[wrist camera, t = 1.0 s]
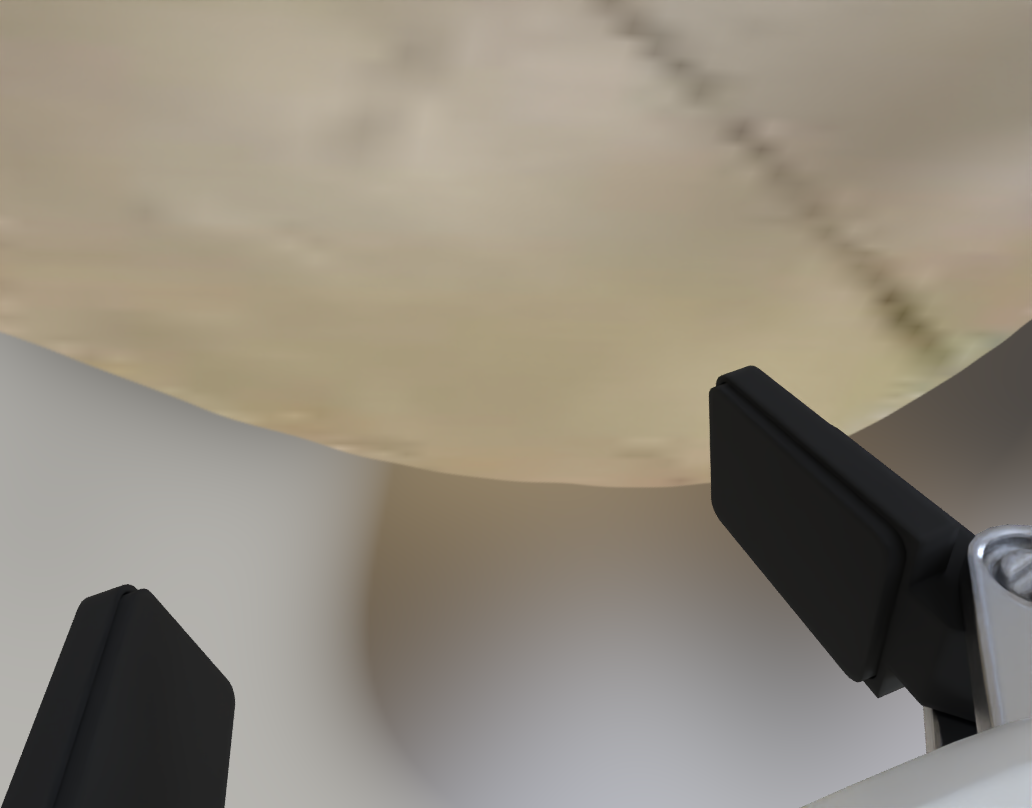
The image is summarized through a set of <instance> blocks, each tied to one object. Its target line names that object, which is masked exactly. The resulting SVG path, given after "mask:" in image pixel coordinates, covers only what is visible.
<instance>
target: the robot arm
mask: <svg viewBox="0 0 1032 808" xmlns="http://www.w3.org/2000/svg"><path fill="white" fill-rule="evenodd" d="M709 419H710V463H711V500H712V505H713V508H714V511H715V513H716V515H717V517H718V518H719V520H720V521H721V522H722V524H723V525H724V526H725V527H726V528H727V530H728V531H729V532H730V533H731V535H732V536H733V537H734V538H735V539H736V541H737V542H738V543H739V544H740V545H741V547H742V548H743V549H744V550H745V552H746V553H747V554H748V555H749V557H750V558H751V559H752V560H753V561H754V563H755V564H756V565H757V566H758V568H759V569H760V570H761V571H762V572H763V574H764V575H765V576H766V577H767V579H768V580H769V581H770V582H771V583H772V585H773V586H774V587H775V588H776V590H777V591H778V592H779V593H780V594H781V596H782V597H783V598H784V599H785V600H786V602H787V603H788V604H789V605H790V607H791V608H792V609H793V610H794V611H795V613H796V614H797V615H798V616H799V618H800V619H801V620H802V621H803V622H804V624H805V625H806V626H807V627H808V628H809V630H810V631H811V632H812V633H813V635H814V636H815V637H816V638H817V640H818V641H819V642H820V643H821V645H822V646H823V647H824V648H825V649H826V651H827V652H828V653H829V654H830V656H831V657H832V658H833V659H834V660H835V662H836V663H837V664H838V665H839V667H840V668H841V669H842V670H843V671H844V672H845V674H846V675H847V676H848V677H849V678H851V679H852V680H853V681H856V682H861V681H864V682H865V684H866V685H867V686H868V687H869V688H870V690H871V691H872V692H873V693H874V694H875V695H876V697H877V698H880V697H882V696H884V695H887V694H889V693H891V692H894V691H896V690H898V689H901V688H903V687H906V689H908V691H909V692H910V693H911V694H912V695H913V696H914V697H915V699H916V700H917V701H918V702H919V703H920V704H921V705H922V706H923V711H924V725H925V739H926V753H927V754H924V755H922V756H920V757H917V758H915V759H912V760H910V761H908V762H905V763H903V764H901V765H898V766H896V767H893V768H891V769H889V770H886V771H884V772H882V773H879V774H877V775H874V776H872V777H870V778H867V779H865V780H862V781H860V782H858V783H856V784H853V785H851V786H848V787H846V788H844V789H842V790H839V791H837V792H835V793H833V794H830V795H828V796H826V797H823V798H821V799H819V800H817V801H814V802H812V803H810V804H808V805H805V806H803V807H801V808H1032V526H1028V525H1008V524H1007V525H1002V526H996V527H990V528H988V529H986V530H984V531H982V532H980V533H979V534H977V535H974V534H973V533H972V532H970V531H969V530H968V529H967V528H965V527H964V526H963V525H961V524H960V523H959V522H957V521H956V520H955V519H954V518H952V517H951V516H950V515H949V514H947V513H946V512H945V511H943V510H942V509H941V508H939V507H938V506H937V505H936V504H934V503H933V502H932V501H930V500H929V499H928V498H927V497H925V496H924V495H923V494H921V493H920V492H919V491H918V490H916V489H915V488H914V487H913V486H911V485H910V484H909V483H907V482H906V481H905V480H903V479H902V478H901V477H900V476H898V475H897V474H896V473H894V472H893V471H892V470H891V469H889V468H888V467H887V466H886V465H884V464H883V463H882V462H880V461H879V460H878V459H876V458H875V457H874V456H873V455H871V454H870V453H869V452H867V451H866V450H865V449H864V448H862V447H861V446H859V445H858V444H857V443H856V442H855V441H853V440H852V439H851V438H849V437H848V436H847V435H846V434H844V433H843V432H842V431H840V430H839V429H838V428H836V427H834V426H833V425H831V424H829V423H828V422H827V421H825V420H824V419H823V418H821V417H820V416H819V415H818V414H816V413H815V412H814V411H812V410H811V409H810V408H809V407H807V406H806V405H805V404H804V403H802V402H801V401H800V400H798V399H797V398H796V397H795V396H793V395H792V394H791V393H789V392H788V391H787V390H786V389H784V388H783V387H782V386H780V385H779V384H778V383H777V382H775V381H774V380H773V379H772V378H770V377H769V376H768V375H766V374H765V373H764V372H763V371H761V370H760V369H759V368H757V367H755V366H747V367H744V368H741V369H739V370H736V371H733V372H730V373H727V374H724V375H721V376H720V377H718V379H717V381H716V387H713V388H711V389H710V392H709ZM234 710H235V697H234V692H233V688H232V686H231V684H230V682H229V681H228V680H227V678H226V677H225V676H224V675H223V674H222V673H221V672H220V670H219V669H218V668H217V667H216V666H215V665H214V664H213V663H212V661H211V660H210V659H209V658H208V657H207V656H206V655H205V653H204V652H203V651H202V650H201V649H200V648H199V647H198V645H197V644H196V643H195V642H194V641H193V640H192V639H191V637H190V636H189V635H188V634H187V633H186V632H185V631H184V629H183V628H182V627H181V626H180V625H179V624H178V623H177V621H176V620H175V619H174V618H173V617H172V616H171V615H170V614H169V612H168V611H167V610H166V609H165V608H164V607H163V605H162V604H161V603H160V602H159V601H158V600H157V599H156V597H155V596H154V595H153V594H152V593H151V592H150V591H149V590H147V589H140V590H137V589H136V588H135V587H134V586H132V585H129V584H127V585H122V586H119V587H116V588H113V589H111V590H108V591H105V592H102V593H99V594H96V595H93V596H91V597H88V598H86V599H84V600H83V601H82V602H81V604H80V605H79V607H78V610H77V612H76V615H75V618H74V620H73V623H72V625H71V628H70V630H69V633H68V635H67V638H66V641H65V643H64V646H63V648H62V651H61V654H60V657H59V659H58V662H57V664H56V666H55V669H54V672H53V674H52V677H51V679H50V682H49V685H48V687H47V690H46V692H45V695H44V698H43V700H42V703H41V705H40V708H39V710H38V713H37V716H36V718H35V721H34V724H33V726H32V729H31V731H30V734H29V737H28V739H27V742H26V744H25V747H24V749H23V752H22V755H21V757H20V760H19V762H18V765H17V767H16V770H15V773H14V775H13V778H12V780H11V783H10V786H9V789H8V791H7V794H6V796H5V799H4V801H3V804H2V807H1V808H224V806H225V797H226V787H227V778H228V768H229V758H230V748H231V739H232V729H233V719H234Z"/></svg>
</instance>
